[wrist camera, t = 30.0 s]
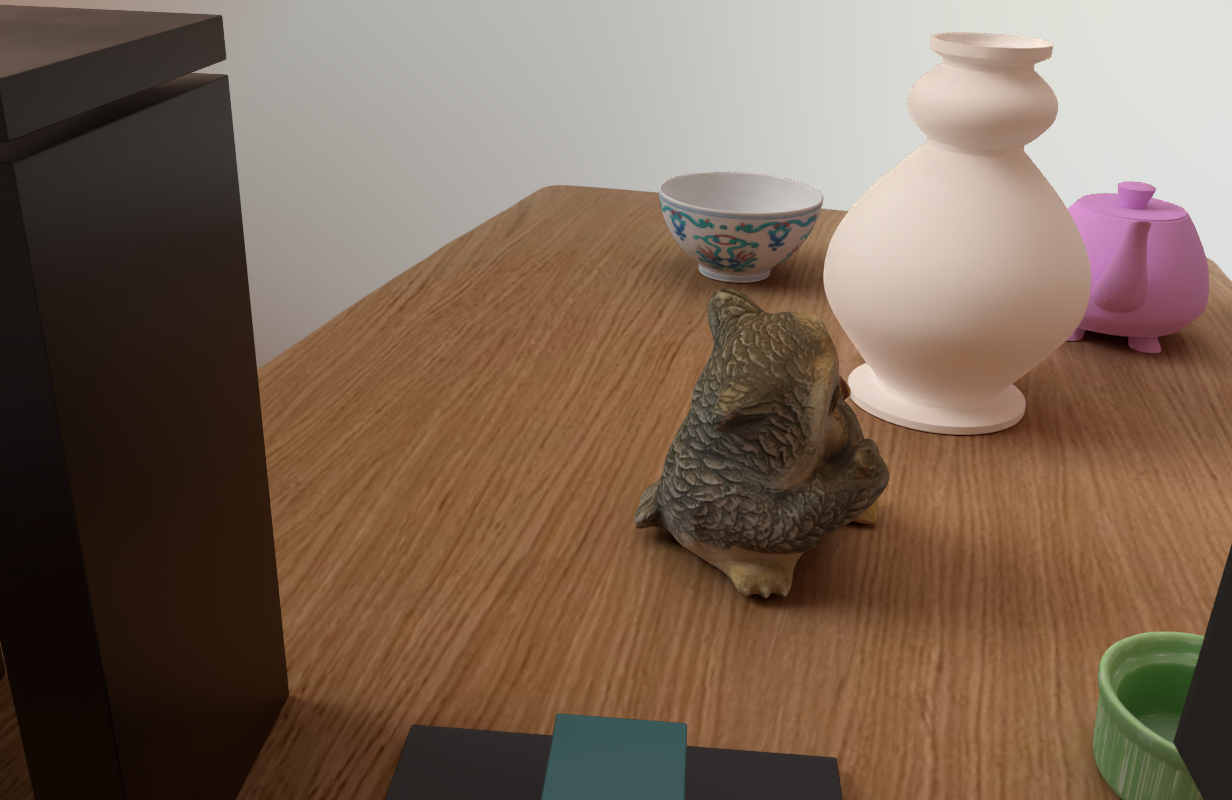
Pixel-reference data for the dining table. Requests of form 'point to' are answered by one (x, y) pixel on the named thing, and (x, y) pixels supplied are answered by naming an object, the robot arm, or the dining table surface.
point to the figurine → (765, 450)
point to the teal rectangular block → (615, 759)
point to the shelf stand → (130, 415)
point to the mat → (516, 762)
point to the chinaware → (738, 221)
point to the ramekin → (1145, 715)
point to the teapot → (1140, 266)
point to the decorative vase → (961, 249)
